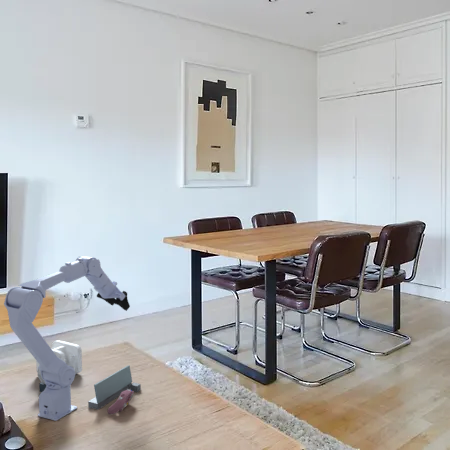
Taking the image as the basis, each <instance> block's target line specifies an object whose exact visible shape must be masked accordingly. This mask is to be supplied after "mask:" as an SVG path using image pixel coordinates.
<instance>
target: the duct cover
mask: <svg viewBox="0 0 450 450" xmlns="http://www.w3.org/2000/svg"><path fill="white" fill-rule="evenodd" d="M131 371H132V370H131V367H130V365H129V364H128V365H125V366H124V367H122V368H121V369H119V370H117V371H115V372H113V373H112V374H111V375H108V376H107V377H105V378H103V379H102V380H99V381H98V382H96V383H95V384H93V387H94V388H93V389H94V393H95V397H96V400H97V403H100V402H102V401H103V400H105V399H106V398H108V397H109V396H111V395H113V394H114V393H116V392H117V391H119V390H121V389H122V388H124V387H125V386H127V385H128V384H130V383H133V378H132V372H131Z"/></svg>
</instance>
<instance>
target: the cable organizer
mask: <svg viewBox="0 0 450 450" xmlns="http://www.w3.org/2000/svg"><path fill="white" fill-rule="evenodd" d="M51 349H52V351H53V352H54V353H55V355H56V356H57V357H58V358H60V359H61V360H63V361H64V362H65V363H66V364H67V365H68V366H71V367H73V368H74V370H75V375H77V374H79V373H81V372H82V371H83V357H82V348H81V346H80V345H79V344H77V343H73V342H68V341H64V340H59V339H57V340H54V341H52V343H51ZM35 363H36V373H37V374H38V367H39V365H40V364H39V363H38V362H37V360H36V359H35Z"/></svg>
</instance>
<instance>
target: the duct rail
mask: <svg viewBox="0 0 450 450" xmlns="http://www.w3.org/2000/svg"><path fill="white" fill-rule="evenodd" d="M141 386H142V384H141V383H138V382H132V383H130V384H128V385H127V386H125V387H124V388H122V389H121V390H119V391H117V392H116V393H114V394H113V395H111V396H109V397H108V398H106V399H105V400H103V401H102V402H100V403H97V400H96V396H95V397H93V398H91V399H90V400H88V401H87V403H88V404H87V405H88V407H87V408H89V409H94V410H97V411H99V410H100V409H101V408H103V407H105V406H107V405H108V404H109V403H111V402H112V401H114V400H117V399H118V398H119V396H120V394H121V393H122V392H123V391H125V390H127V389H129V390H132V391H134V393H138V392H140V391H142V388H141Z"/></svg>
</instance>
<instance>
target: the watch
mask: <svg viewBox="0 0 450 450" xmlns="http://www.w3.org/2000/svg"><path fill="white" fill-rule="evenodd" d="M37 377H38V380H39V381H40V382H39V393H41V392H43V391H44V390H45V388H46V384H45V380H43V379H42V377H41V372H40V370H39V369H38V373H37Z"/></svg>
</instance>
